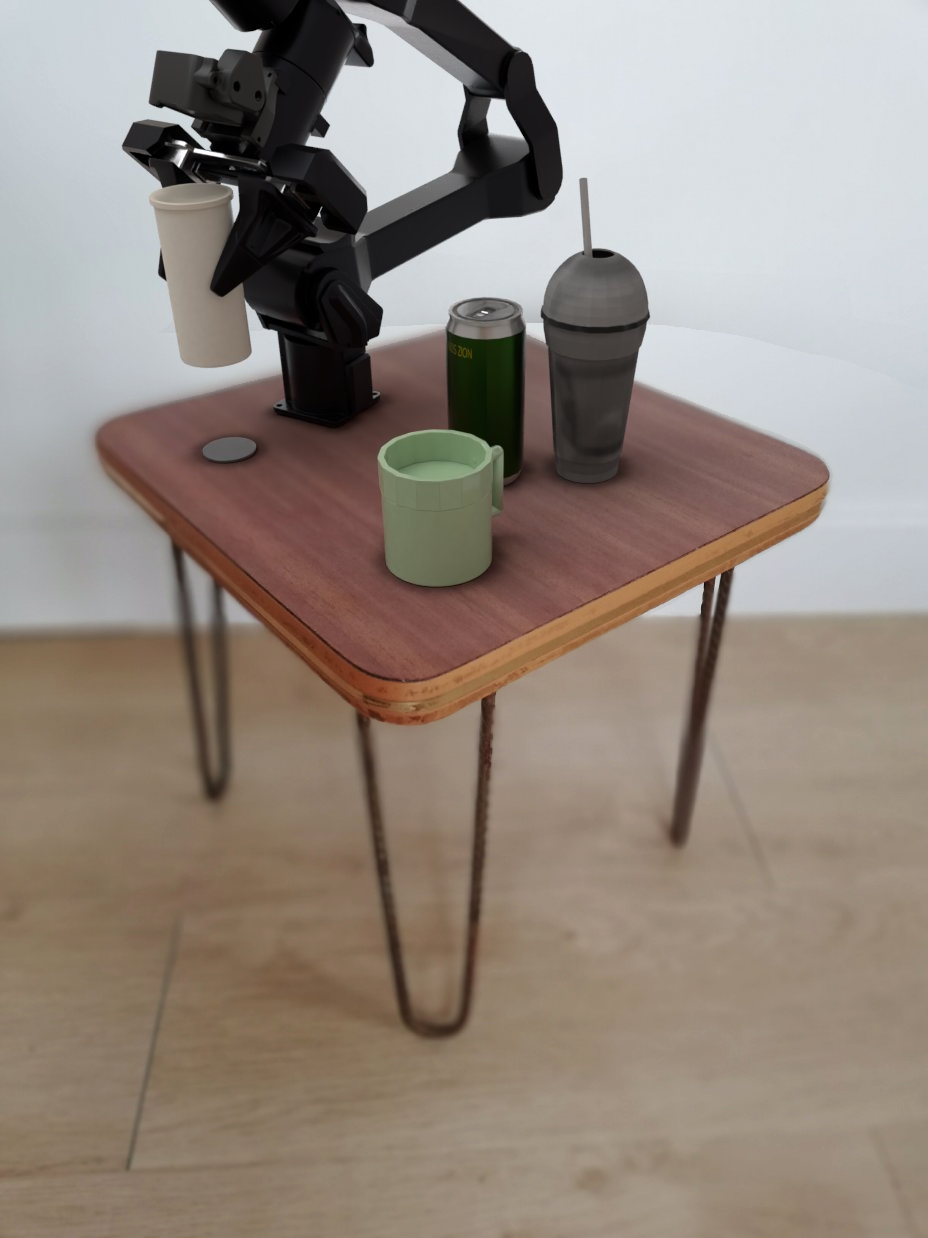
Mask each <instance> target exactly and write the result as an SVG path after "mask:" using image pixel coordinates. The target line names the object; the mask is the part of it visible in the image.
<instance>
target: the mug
mask: <svg viewBox="0 0 928 1238" xmlns="http://www.w3.org/2000/svg"><path fill="white" fill-rule="evenodd" d="M503 464H504V452H503V449H502V447H500V446H498V445H494V446H492V447H489V445H488V444H487V442H486V441H484V440H482V439H480V438H478V437H476V436H474V435H472V434H468V433H464V432H459V431H455V430H448V429H424V430H418V431H410V432H408V433H405V434H402V435H399V436H396V437H393V438H392V439H390V440H389V441H388V442H386V443H385V444H383V445H382V446H381V447H380V449H379V451H378V454H377V473H378V487H379V489H380V501H381V502H380V503H381V516H382V530H383V545H384V559H385V560H384V561H385V566H386V567H387V569H388V571H390V573H391V574H393V575H394V576H395V577H396V578H398V579H399V580H402V581H404V582H406V583H409V584H412V585H416V586H423V587H433V588H435V587H437V588H438V587H441V588H442V587H451V586H456V585H460V584H464V583H468V582H469V581H470V582H471V581H472V580H474V579H476V578H478V577H480V576H481V575H483V574H484V573H485V572H486V571H487V570H488V569H489V567H490V565H491V564H492V560H493V518H496V517H498V516H500V515H501V514H503V511H504V486H503Z"/></svg>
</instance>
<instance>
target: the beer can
mask: <svg viewBox="0 0 928 1238" xmlns="http://www.w3.org/2000/svg"><path fill="white" fill-rule="evenodd" d="M447 313H448V318H447V320H446V323H445V325H444V331H445V332H444V333H445V367H446V369H445V370H446V374H445V375H446V402H447V403H446V405H447V407H446V409H447V411H446V412H447V430H455V431H459V432H464V433H468V434H472V435H474V436H476V437H478V438H480V439H482V440H484V441H486V442H487V444H488V445H489V447H492V446H494V445H498V446H500V447H502V449H503V452H504V464H503V487H505V486H508V485H509V484H511V483H513V482H515V481H516V480H517V479H518V478H519V477H520V474H521V472H522V470H523V467H524V463H525V461H524V460H525V418H526V417H525V416H526V415H525V412H526V410H525V409H526V406H525V405H526V357H527V356H526V355H527V353H526V352H527V351H526V350H527V322H526V321H525V318H524V316H523V314H524V309H523V307H522V305H521V304H519V303H518V302H517V301H513V300H510V299H507V298H501V297H491V296H489V297H488V296H487V297H486V296H483V297H471V298H466V299H463V300H460V301H456V302H454V303H453V304H451V305H450V306H449V308H448V312H447Z"/></svg>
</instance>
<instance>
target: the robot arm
mask: <svg viewBox="0 0 928 1238" xmlns="http://www.w3.org/2000/svg"><path fill="white" fill-rule="evenodd" d="M208 1H209V2H210V4H212V6H213V7H214V8H215V9H216V10H217V11H218V12H219V13H220V14H221V15H222V16H223V17H224V19H225V20H226V21H227V22H228V23H229V24H230V25H231V27H232V28H233V29H234V30H236V31H238V32H240V33H251V32H255V31H261V32H260V34H259V36H258V38H257V41H256V42H255V45H254V47H253V48H252V51H251V52H250V51H248V50H245V49H234V48H226V49H225V50H224V51H223V52H222V54H221V56H220V57H219V58H218V59H216V58H214V57H206V56H202V55H198V54H194V53H188V52H180V51H179V52H177V51H170V50H162V49H161V50H160V49H157V50H156V53H155V58H154V64H153V72H152V78H151V85H150V90H149V96H148V104H149V105H151V106H152V107H155V108H158V109H164V108H166V109H169V110H172V111H175V112H177V113H179V114H181V115H184V116H186V117H190V118H192V119H193V121H192V123H191V125H190V128H191V129H192V130H193V131H194V132H195V133H196V134H197V135H198V136H199V137H201V138H202V139H206V140H207V141H208V142H210V145H209V147H208V149H206V148H205V147H203V146H202V145H201V144H200V143H199V142H198V141H197V140H196V139H195V138H194V137H193V136H192V135H191V134H190V133H189V132H188V131H187V130H185V128H183V126H181V125H180V124H178V123H174V122H168V121H161V120H155V119H149V118H147V119H143V120H137V121H133V122H132V123H131V126H130V128H129V130H128V132H127V134H126V136H125V138H124V140H123V142H122V144H121V149H122V151H123V152H124V153H126V154H127V156H129V157H130V158H131V159H133V160H134V161H135V162H136V163H137V164H139V166H141V167H142V168H143V169H144V170H146V172H147V173H149V174H150V175H151V176H152V177H154V178H155V179H156V180H157V181H158V182H159V183H160V186H161V189H162V188H165V187H169V186H174V185H181V184H191V183H213V184H221V185H222V184H223V185H229V186H234V187H237V192H238V205H239V206H238V208H239V209H238V212H237V216H236V218H235V219H234V225H233V227H232V230H231V232H230V234H229V237H228V239H227V242H226V244H225V246H224V249H223V251H222V254H221V256H220V259H219V261H218V263H217V266H216V269H215V272H214V275H213V278H212V281H211V284H210V290H211V291H212V292H213V293H214V294H216V295H217V296H219V297H224V296H225V295H227V294H228V293H229V292H231V291H232V290H233V289H235V288H236V287H237V286H239V285H240V284H241V283H243V290H244V298H245V303H246V304H247V305H248V306H249V307H250V308H251V309H252V310H253V311H254V312H255V314H256V316H257V318H258V320H259V322H260V324H261V325H260V326H262V328H263V329H265V330H268V331H273V332H276V334H277V343H278V351H279V352H278V353H279V359H280V368H281V376H282V384H283V393H284V398H282V399H281V400H279V401H278V402H276V403H274V404H272V408H273V412H274V413H276V414H281V415H285V416H289V417H292V418H296V419H300V420H304V421H308V422H313V423H317V424H321V425H325V426H328V427H335V428H337V427H340V426H342V425H343V424H345V423H347V422H348V421H349V420H351V419H353V418H354V417H356V416H358V415H359V414H360V413H362V412H363V411H365V410H366V409H368V408H369V407H371V406H372V405H374V404H376V403H377V402H379V401H380V400H381V397H382V395H381V392H379V391H375V390H373V374H372V361H371V360H372V359H371V354H370V353H369V352H367V346H368V345H369V342H370V340H373V339H375V338H377V337H379V336H380V333H381V327H382V323H383V317H384V316H383V315H384V308H383V307H382V306H381V305H380V304H379V303H378V302H377V301H376V300H375V299H373V297H372V296H371V295H369V294H368V293H369V290H370V288H371V285H372V283H373V282H374V281H375V280H376V279H378V278H380V277H382V276H384V275H385V274H387V273H389V272H391V271H393V270H395V269H396V268H398V267H400V266H402V265H404V264H407V263H408V262H410V261H411V260H413V259H415V258H417V257H419V256H420V255H423V254H424V253H426V252H428V251H430V250H432V249H433V248H435V247H437V246H439V245H440V244H442V243H445V242H447V241H448V240H450V239H453V237H456V236H458V235H459V234H461V233H463V232H465V231H466V230H469V229H471V228H472V227H475V226H476V225H478V224H480V223H482V222H483V221H487V220H495V219H497V220H498V219H512V218H513V219H514V218H523V217H527V216H530V215H535V214H538V213H541V212H544V211H545V210H547V209H548V208H549V207H551V205H552V204H553V203H554V201H555V200H556V196H557V195H558V194H559V192H560V189H561V188H562V183H563V180H564V168H563V167H564V166H563V159H562V152H561V143H560V135H559V128H558V125H557V122H556V120H555V118H554V117H553V115H552V113H551V112H550V110H549V108H548V106H547V104H546V102H545V101H544V99H543V97H542V95H541V94H540V91H539V89H538V88H537V84H536V83H537V81H536V75H535V68H534V67H535V66H534V63H533V59H532V57H531V56H530V54H529V53H528V52H526V51H524V50H523V49H522V48H520V47H519V46H515V45H513V44H511V43H510V42H509V41H508V40H507V39H505V38H504V36H502V35H501V34H500V33H498V32H497V31H496V30H495V29H494V28H492V27H491V26H490V25H489V24H488V23H486V22H485V21H484V20H483V19H482V18H480V17H479V15H477V14H476V13H475V12H474V11H472V9H470V8H469V7H468V6H466V4H464V3H463V2H462V1H461V0H208ZM347 14H348V15H351V16H355V17H359V18H362V19H365V20H369V21H372V22H374V23H377V24H379V25H382V26H384V27H386V28H387V29H388V30H389V31H390V32H392V33H394V34H395V35H396V36H397V37H399V38H400V39H401V40H403V41H405V43H407V44H409V45H410V46H411V47H412V48H414V49H415V50H416V51H418V52H419V53H421V54H422V55H423V56H424V57H426V58H427V59H429V60H430V61H432V62H433V63H434V64H435V65H437V66H438V67H440V68H441V69H442V70H444V71H445V72H446V73H447V74H449V75H451V77H453V78H454V79H456V80H457V81H458V82H460V83H461V84H462V87H463V94H464V99H465V101H464V105H463V108H462V111H461V116H460V120H459V123H458V127H457V131H456V132H457V134H456V135H457V140H458V145H459V151H458V152H457V154H456V156H455V159H454V161H453V165H452V168H451V169H450V170H449V171H448V172H447V173H444V174H442V175H440V176H437V177H436V178H434V179H432V180H430V181H428V182H426V183H424V184H422V185H420V186H418V187H416V188H414V189H412V190H409V191H408V192H406V193H403V194H401V195H399V196H397V197H395V198H393V199H391V200H389V201H387V202H385V203H383V204H381V205H378V206H377V207H375V208H373V209H371V210H369V209H368V208H369V205H368V195H367V190H366V188H365V187H364V186H363V185H362V184H361V183H360V182H359V181H358V180H357V179H356V177H354V175H353V174H352V173H351V172H350V170H349V169H348V168H347V167H346V166H345V165H344V164H343V163H342V161H340V159H338V158H337V156H336V155H335V154H334V153H333V152H332V151H331V149H329V148H323V147H316V146H312V145H311V146H310V145H307V144H308V142H309V140H310V138H311V137H316V138H321V139H325V137H326V135H327V133H328V131H329V129H330V127H331V124H330V123H329V122H328V120H327V119H326V118H325V117H324V116H323V115H322V113H323V110H324V109H325V107H326V104H327V102H328V100H329V97H330V96H331V94H332V92H333V89H334V87H335V86H336V83H337V81H338V79H339V77H340V75H341V73H342V70H343V68H344V67H345V66H347V67H356V68H357V67H358V68H368V69H369V68H372V67H374V65H375V56H374V51H373V47H372V45H371V43H370V40H369V38H368V27H367V25H366V24H365V23H363V22H362V23H360V22H353V21H352V20H351V19H350V18H349V16H348V15H347ZM492 100H496V101H504V102H505V105H506V109H507V111H508V113H509V114H510V116H511V118H512V119H513V121H514V123H515V125H516V126H517V128H518V130H519V132H520V134H521V136H522V137H521V136H514V135H507V134H501V133H495V132H490V130H489V125H488V119H487V116H488V112H489V109H490V105H491V102H492ZM319 215H320V216H319ZM158 260H159V261H158V267H157V275H158V276H159V278H161V279H162V280H164V281H165V282H166V283H167V279H166V274H165V268H164V262H163V257H162V251H161V247H160V249H159V259H158Z"/></svg>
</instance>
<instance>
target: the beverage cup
mask: <svg viewBox="0 0 928 1238" xmlns="http://www.w3.org/2000/svg"><path fill="white" fill-rule="evenodd" d="M578 183H579V185H578V186H579V197H580V198H579V199H580V214H581V215H580V216H581V227H582V241H583V242H582V243H583V244H582V245H583V250H581V251H578V252H576V253H574V254H572V255H571V256H569V257H568V258H567V259H565V260H564V261H563V262H562V263H561V264H560V265H559V266H558V267H557V268H556V270H555V271H554V272H553V274H552V275H551V276H550V279H549V280H548V283H547V285H546V287H545V291H544V295H543V301H542V302H543V304H542V305H541V308H540V318H541V319H542V325H543V334H544V338H545V339H544V340H545V346H547V353H548V354H547V355H548V370H549V371H548V372H549V374H548V375H549V393H550V408H551V409H550V410H551V427H552V428H551V429H552V444H553V445H552V446H553V447H552V448H553V452H554V462H555V472H556V473H557V474H558V475H559V476H560V477H562V478H563V479H565V480H568V481H571V482H575V483H579V484H595V483H596V484H597V483H602V482H605V481H608V480H611V479H612V478H614V477H615V476H616V475H617V473H618V471H619V463H620V458H621V454H622V452H623V446H624V441H625V434H626V430H627V423H628V417H629V412H630V406H631V399H632V394H633V388H634V381H635V378H636V377H635V375H636V370H637V364H638V359H639V352H640V348H641V347H642V345H643V341H644V338H645V335H646V331H647V324H648V321H649V320H650V319H651V314H650V309H649V297H648V292H647V288H646V285H645V282H644V278H643V277H642V275H641V273H640V271H639V270H638V268H637V267H636V265H635V264H633V262H632V261H630V259H628V258H627V257H626V256H624V255H623V254H621V253H619V252H616V251H614V250H611V249H608V248H598V247H597V248H596V247H595V248H593V246H592V245H593V243H592V230H591V229H592V228H591V213H590V201H589V183H588V178H587V177H580V178H579V179H578Z"/></svg>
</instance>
